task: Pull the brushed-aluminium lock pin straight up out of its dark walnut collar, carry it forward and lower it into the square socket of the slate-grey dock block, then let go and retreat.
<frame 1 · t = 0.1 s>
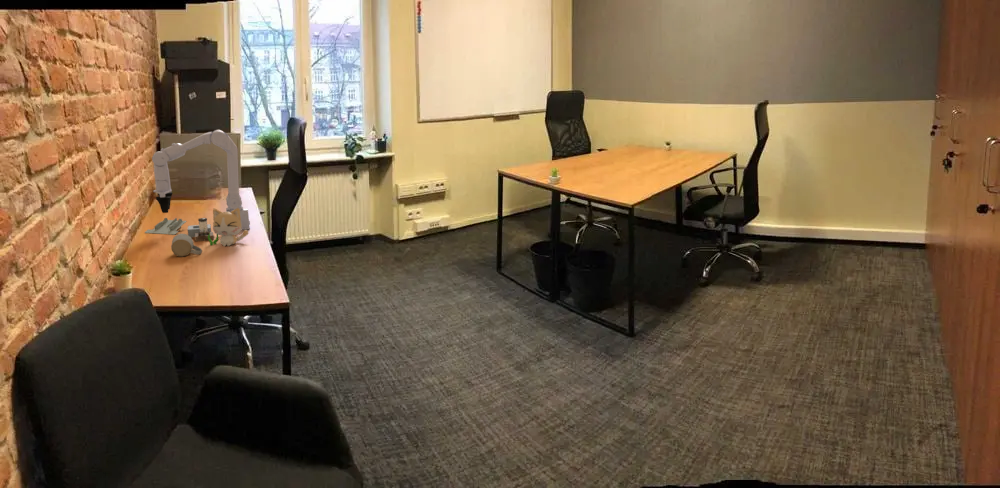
hand: (166, 211, 301), 10 cm above the table, tool pointing down, fingers open, 7 cm apart
kitten: (227, 245, 286), on the table
metal bracket: (168, 232, 309), on the table
ceramic mug: (187, 255, 271), on the table
pin: (203, 228, 294), in the mount
dock: (199, 234, 302), on the table
mount: (204, 238, 295), on the table
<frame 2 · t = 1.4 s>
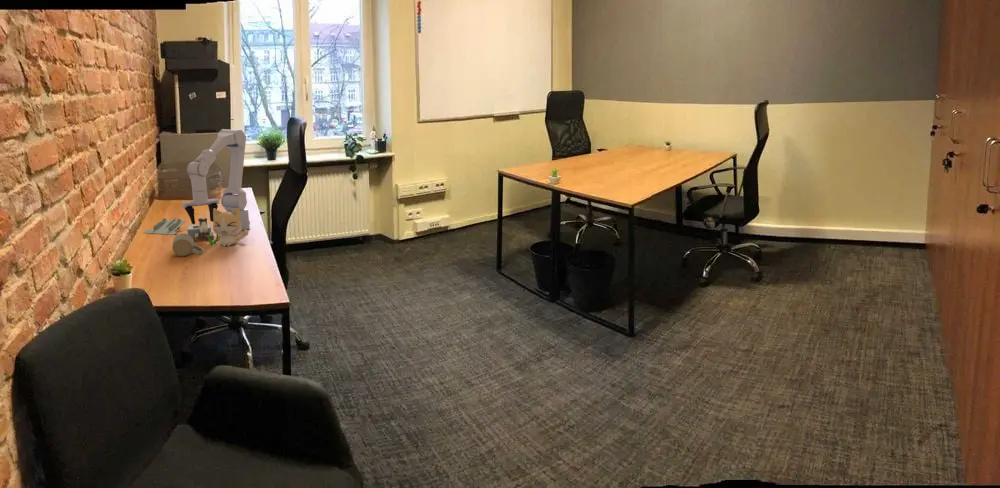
hand: (202, 222, 293), 7 cm above the table, tool pointing down, fingers open, 7 cm apart
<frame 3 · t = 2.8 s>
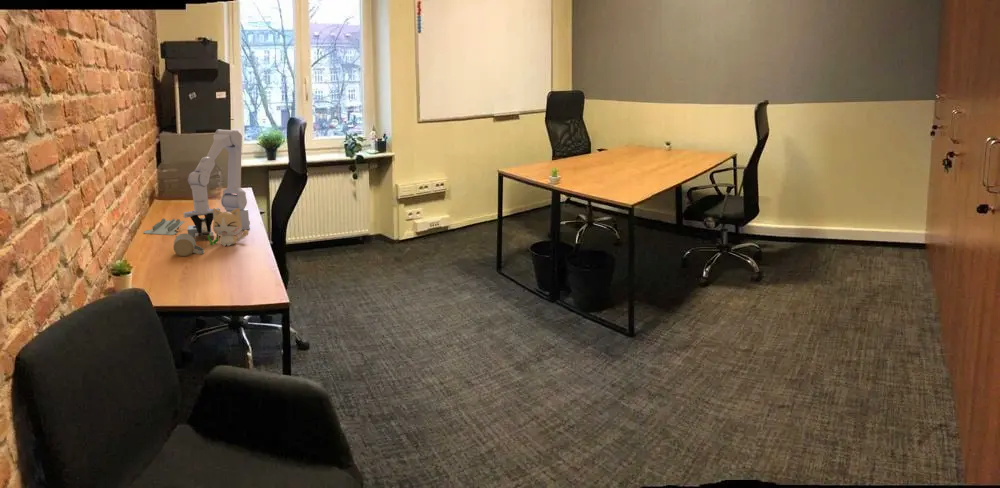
hand: (203, 232, 294), 3 cm above the table, tool pointing down, fingers closed on pin, 3 cm apart
pin: (203, 228, 294), in the mount, touching gripper
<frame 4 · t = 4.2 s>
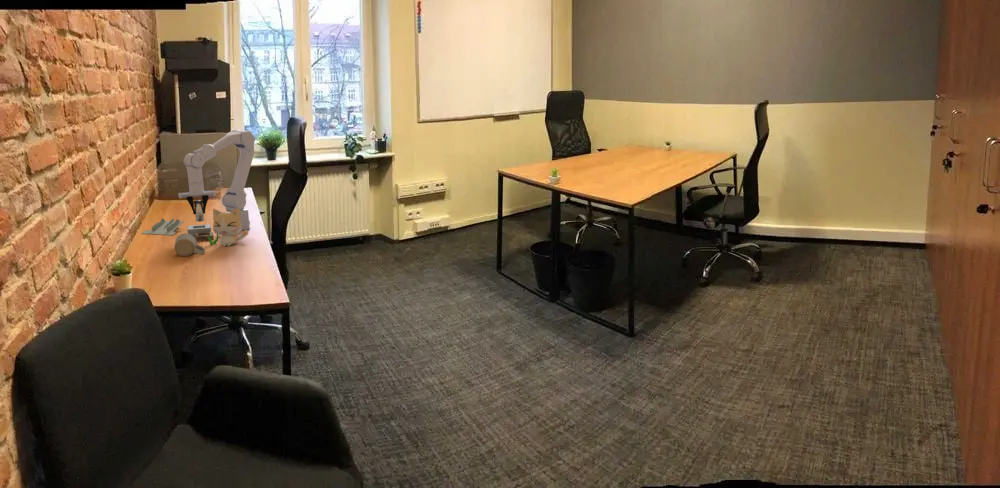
hand: (199, 213, 297), 10 cm above the table, tool pointing down, fingers closed on pin, 3 cm apart
pin: (199, 210, 297), point 11 cm above the table, touching gripper
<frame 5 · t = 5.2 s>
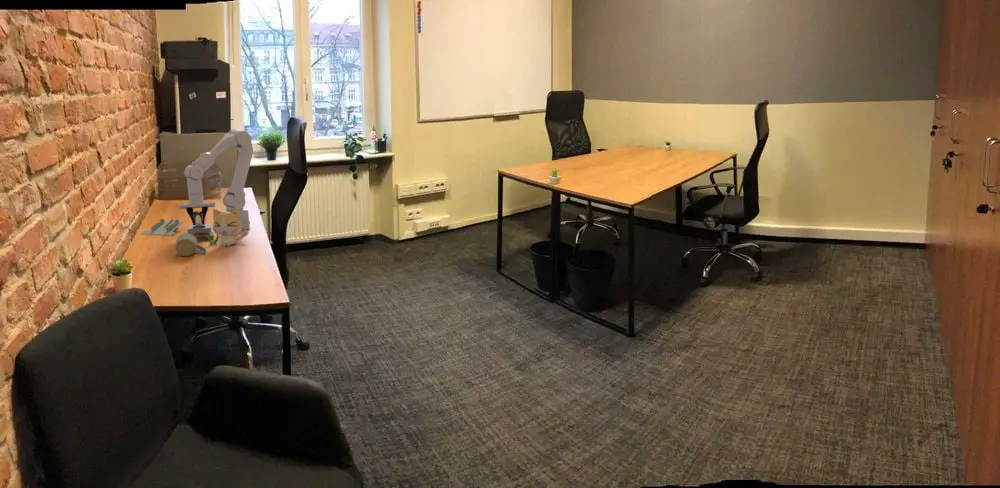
hand: (198, 224, 301), 5 cm above the table, tool pointing down, fingers closed on pin, 3 cm apart
pin: (198, 221, 300), point 6 cm above the table, touching gripper
when the fingers open (4 cm above the table, at t = 5.9 s): pin drops 1 cm, resting in dock.
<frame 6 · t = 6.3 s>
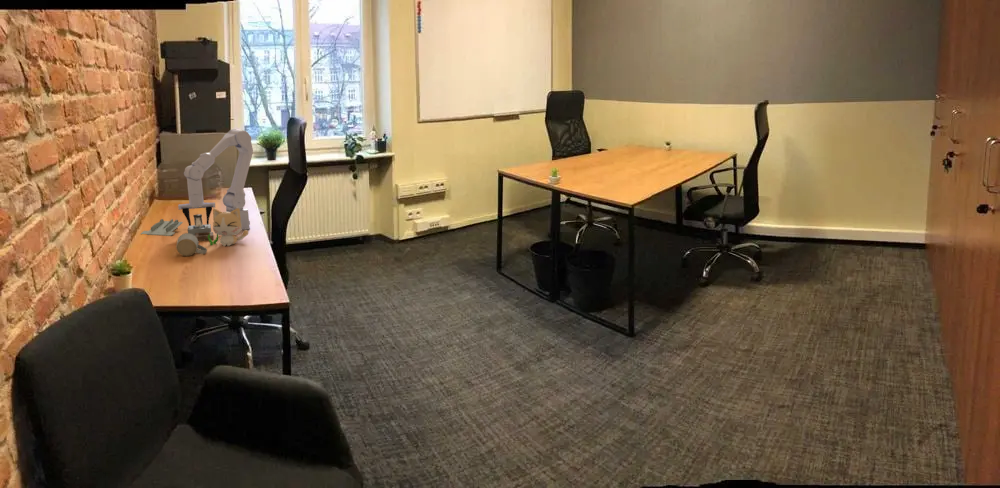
hand: (198, 224, 301), 4 cm above the table, tool pointing down, fingers open, 6 cm apart
pin: (198, 224, 301), in the dock
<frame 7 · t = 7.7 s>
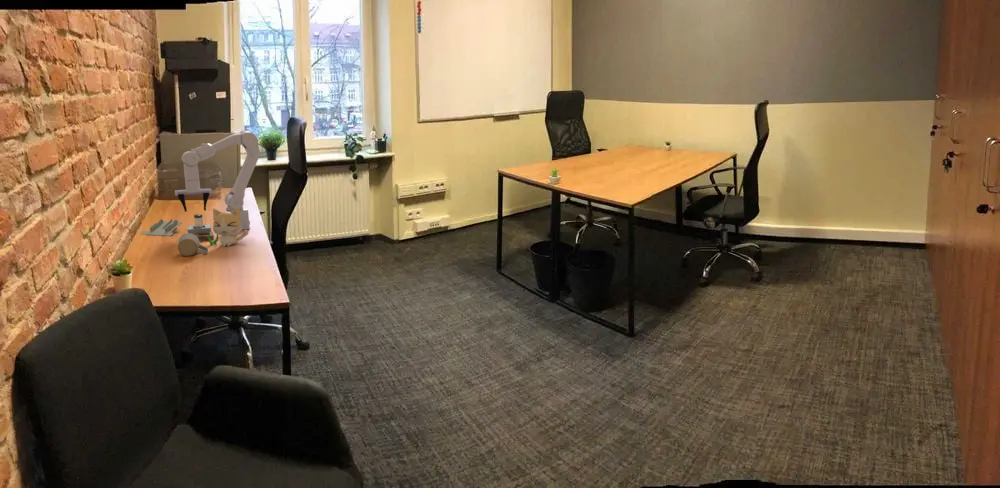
hand: (195, 210, 303), 10 cm above the table, tool pointing down, fingers open, 7 cm apart
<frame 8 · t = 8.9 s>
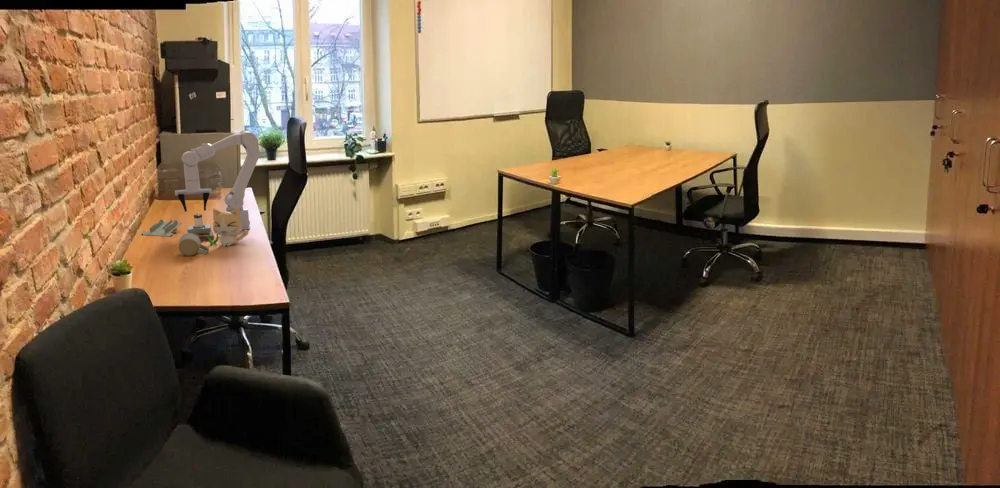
hand: (195, 210, 303), 10 cm above the table, tool pointing down, fingers open, 7 cm apart
at the end: pin 0.2 cm off-centre on the dock, point 4.4 cm above the dock's base; pin tilted 1°; the gripper is holding nothing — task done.
